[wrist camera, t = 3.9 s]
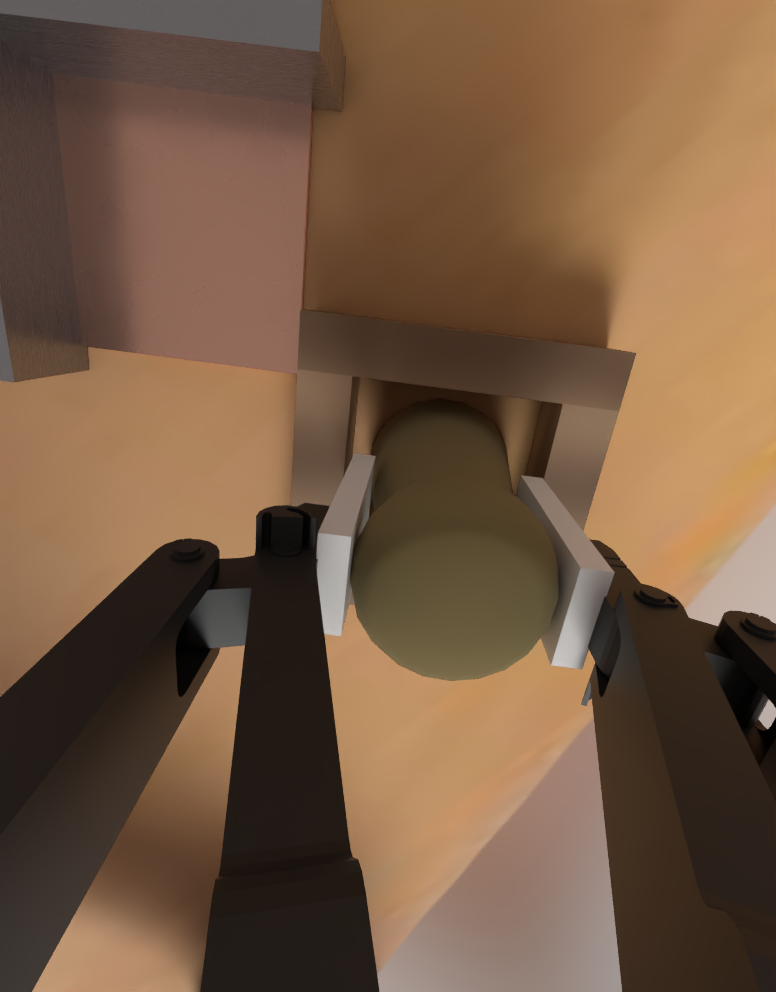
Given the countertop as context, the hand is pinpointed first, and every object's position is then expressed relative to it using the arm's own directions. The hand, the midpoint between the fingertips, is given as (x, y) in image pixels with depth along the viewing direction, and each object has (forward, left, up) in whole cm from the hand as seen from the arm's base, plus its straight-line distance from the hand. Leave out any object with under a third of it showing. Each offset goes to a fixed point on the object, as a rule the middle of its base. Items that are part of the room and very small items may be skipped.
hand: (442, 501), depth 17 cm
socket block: (0, 0, -4) cm, 4 cm away
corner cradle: (+8, +11, -4) cm, 14 cm away
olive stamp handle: (0, 0, -4) cm, 4 cm away
